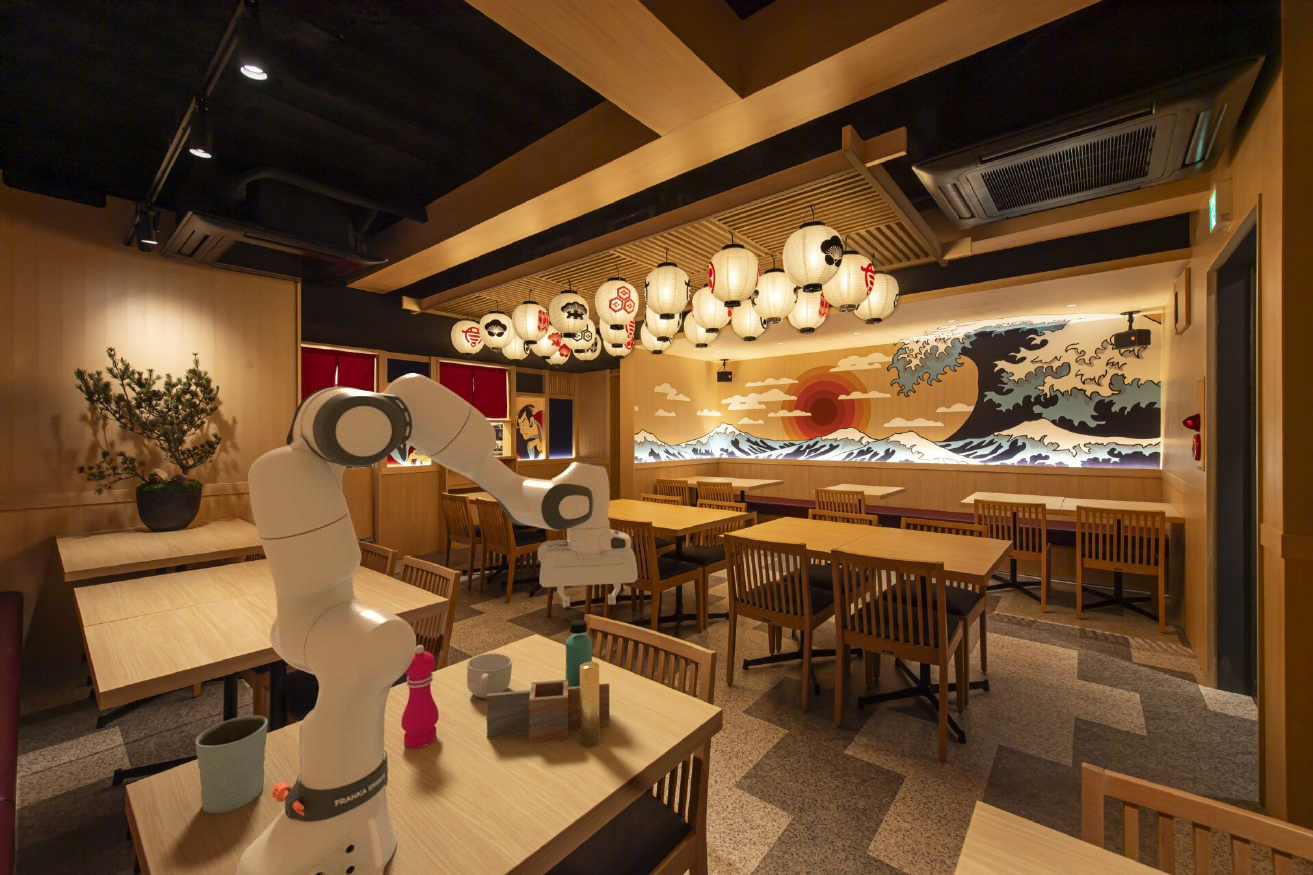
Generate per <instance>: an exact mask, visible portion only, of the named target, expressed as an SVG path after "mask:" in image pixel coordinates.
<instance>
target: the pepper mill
mask: <svg viewBox="0 0 1313 875" xmlns="http://www.w3.org/2000/svg"><path fill="white" fill-rule="evenodd" d="M435 666H436V659H435V656H434V655H433V654H432V653H431V652H429V651H425V647H424V645H422V644H419V645H416V649H415V653H414V656H413V659H412V661H411V663H410V665H409V667H408V668H407V670H406V671H405V672H404V674H405V675H406V676H407V678H406V681H407V682H406V686H408V690H409V691H408V692H409V694H408V700H407V702H406V706H405V708H404V710H403V712H402V716H401V723H400V726H401V728H402V730H404V733H403V744H404V745H405V747H407V748H410V749H411V748H412V749H415V748H416V749H419V748H422V747H425V746H428V745H430V744H431V743H433V742H434V741H435V740H436V738H437V727H436V725H437V723H438V721H439V718H440V717H439V716H440V714H439V709H438V706H437V704H436V702H435V700H434V698H433V694H432V689H431V685H432V684H431V683H432V682H433V681H434V680H433V670H435Z"/></svg>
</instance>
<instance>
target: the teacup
mask: <svg viewBox="0 0 1313 875" xmlns="http://www.w3.org/2000/svg"><path fill="white" fill-rule="evenodd" d="M512 664H513V658H512V657H511V656H510V655H508V654H503V653H496V652H495V653H484V654H480V655H476V656H473V657H472V658H471V657H470V659H469V660H468V661H467V662H466V667H467V668H466V670H467V672H466V679H467V680H466V686H467V689H468V690H469V692H470V693H472V695H474V696H475V697H477V698H480V699H487V694H489V693H501V692H506V690H507V689H508V687H509V686H510V684H511V681H512V680H511V678H512V669H513V668H512V666H513V665H512Z"/></svg>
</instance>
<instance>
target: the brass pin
mask: <svg viewBox="0 0 1313 875" xmlns="http://www.w3.org/2000/svg"><path fill="white" fill-rule="evenodd" d="M599 684H600V664H599V663H598V662H597V661H596V662H595V661H592V662H585V663H583V664H581V665H580V729H579V739H580V740H579V742H580V746H581V747H583V748H587V749H588V748H590V749H591V748H594V747H596V746H598V745H599V744H600V727H599Z"/></svg>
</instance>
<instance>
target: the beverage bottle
mask: <svg viewBox="0 0 1313 875" xmlns="http://www.w3.org/2000/svg"><path fill="white" fill-rule="evenodd" d="M587 631H588V623H587V621H586V620H584V619H574V620H572V621H571V622H570V623H569V633H571V634H570V635H569V636H568V637H567V638H566V639H565V643H564V644H565V680H568V687H574V686H580V665H581V664H583V663H585V662H593V653H592V652H593V650H592V649H593V648H592V646H593V645H592V643H593V640H592V638H591V637H590V635H588V634H587Z"/></svg>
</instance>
